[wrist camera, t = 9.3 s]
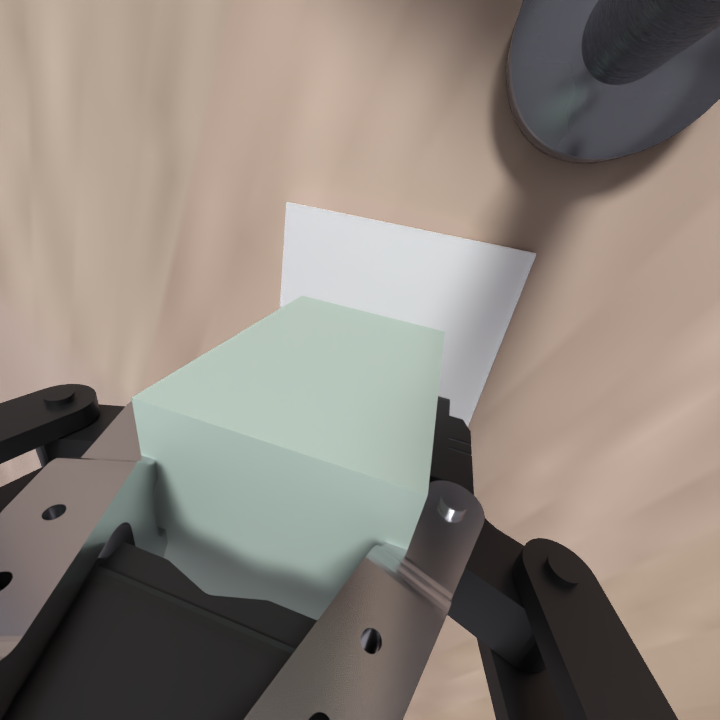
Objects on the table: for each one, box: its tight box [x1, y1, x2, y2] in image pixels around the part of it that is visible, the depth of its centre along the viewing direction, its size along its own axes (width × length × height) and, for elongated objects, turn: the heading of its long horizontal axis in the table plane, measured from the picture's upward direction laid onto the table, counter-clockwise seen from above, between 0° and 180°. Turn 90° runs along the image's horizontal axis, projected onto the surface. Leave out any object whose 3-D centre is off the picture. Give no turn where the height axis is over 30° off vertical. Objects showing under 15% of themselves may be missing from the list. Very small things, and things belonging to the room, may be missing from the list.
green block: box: [132, 296, 445, 620], centre depth 9 cm, size 5×5×7 cm
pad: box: [280, 202, 536, 427], centre depth 16 cm, size 10×10×1 cm
